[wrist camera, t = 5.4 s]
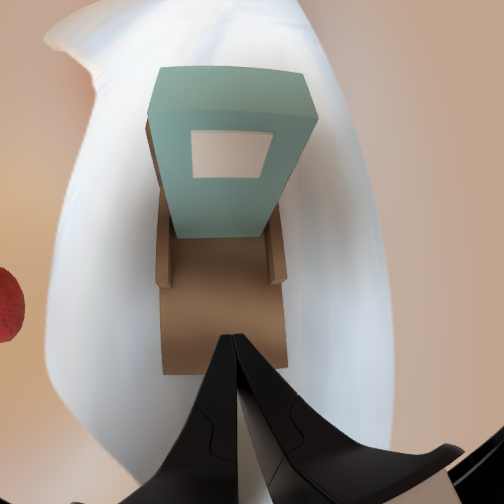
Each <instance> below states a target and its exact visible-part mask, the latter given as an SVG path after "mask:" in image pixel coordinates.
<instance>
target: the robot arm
mask: <svg viewBox="0 0 504 504" xmlns="http://www.w3.org/2000/svg"><path fill="white" fill-rule="evenodd" d="M237 393H238V396H239V400H240V403H241V407H242V410H243V414H244V417H245V420H246V424H247V427H248V430H249V433H250V437H251V440H252V443H253V446H254V449H255V452H256V455H257V459H258V462H259V465H260V468H261V471H262V473H263V476H264V479H265V482H266V485H267V487H268V491H269V494H270V496H271V499H272V502H273V504H504V426H503V427H502V428H501V429H499V430H498V431H497V432H496V433H495V434H494V435H493V436H492V437H490V438H489V439H488V440H487V441H486V442H485V443H483V444H482V445H481V446H480V447H478V448H477V449H476V450H475V451H474V452H472V453H471V454H470V455H468V456H467V457H466V458H464V459H463V460H462V461H461V462H459V463H458V464H457V465H455V466H454V467H453V468H451V469H450V470H449V471H446V470H445V467H446V466H447V465H449V464H450V463H452V462H453V461H454V460H456V459H457V458H458V457H460V456H461V455H462V454H463V453H464V452H465V451H464V450H463V449H461V448H459V447H458V446H455V445H451V444H447V443H445V444H443V445H441V446H439V447H438V448H436V449H435V450H433V451H431V452H429V453H426V454H421V455H413V454H404V453H399V452H392V451H387V450H382V449H377V448H372V447H368V446H365V445H362V444H360V443H358V442H356V441H354V440H353V439H351V438H350V437H348V436H347V435H346V434H344V433H343V432H341V431H340V430H339V429H337V428H336V427H335V426H333V425H332V424H331V423H329V422H328V421H327V420H326V419H324V418H323V417H322V416H321V415H319V414H318V413H317V412H316V411H315V410H314V409H313V408H312V407H310V406H309V405H308V404H307V403H306V402H305V401H304V400H303V399H302V397H301V396H300V395H297V392H296V391H295V390H294V389H293V388H292V387H291V386H290V385H289V384H288V383H287V382H286V381H285V379H284V378H283V377H282V376H281V375H280V374H279V373H278V372H277V371H276V370H275V369H274V367H273V366H272V365H271V364H270V363H269V362H268V361H267V360H266V358H265V357H264V356H263V355H262V354H261V353H260V352H259V351H258V349H257V348H256V347H255V346H254V345H253V344H252V343H251V341H250V340H249V339H248V338H247V337H246V336H245V335H244V334H243V333H238V334H233V335H231V334H222V335H220V336H219V339H218V341H217V344H216V347H215V349H214V352H213V354H212V357H211V360H210V362H209V365H208V367H207V370H206V372H205V375H204V378H203V380H202V383H201V385H200V388H199V391H198V393H197V396H196V398H195V401H194V404H193V406H192V408H191V411H190V414H189V416H188V418H187V421H186V423H185V425H184V427H183V429H182V431H181V433H180V435H179V437H178V438H177V440H176V442H175V443H174V445H173V447H172V449H171V450H170V452H169V454H168V455H167V457H166V459H165V460H164V462H163V463H162V465H161V467H160V468H159V469H158V471H157V472H156V473H155V474H154V476H153V477H152V478H151V479H149V480H148V481H147V482H146V483H145V484H143V485H142V486H141V487H140V488H138V489H137V490H136V491H134V492H133V493H132V494H131V495H129V496H128V497H127V498H125V499H124V500H123V501H121V502H120V503H118V504H239V502H238V464H237ZM0 504H12V503H10V502H8V501H6V500H4V499H2V498H0ZM71 504H83V503H79V502H72V503H71Z"/></svg>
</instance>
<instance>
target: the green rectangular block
mask: <svg viewBox="0 0 504 504" xmlns="http://www.w3.org/2000/svg"><path fill="white" fill-rule="evenodd" d="M147 115H148V120H149V125H150V130H151V135H152V140H153V144H154V149H155V153H156V158H157V162H158V167H159V171H160V175H161V179H162V183H163V187H164V191H165V195H166V199H167V203H168V207H169V211H170V214H171V218H172V222H173V225H174V229H175V232H176V236H177V239H187V238H234V237H260V236H261V234H262V232H263V230H264V228H265V226H266V224H267V222H268V220H269V218H270V216H271V214H272V212H273V210H274V208H275V206H276V204H277V202H278V199H279V197H280V195H281V193H282V191H283V189H284V187H285V185H286V183H287V181H288V179H289V177H290V175H291V173H292V171H293V169H294V167H295V165H296V163H297V161H298V159H299V157H300V155H301V153H302V151H303V149H304V147H305V145H306V143H307V141H308V139H309V137H310V135H311V133H312V131H313V129H314V127H315V125H316V123H317V121H318V119H319V118H318V115H317V112H316V109H315V106H314V104H313V101H312V98H311V95H310V92H309V90H308V87H307V84H306V81H305V79H304V76H303V74H300V73H294V72H287V71H280V70H271V69H262V68H250V67H233V66H179V67H163V68H160V70H159V73H158V76H157V80H156V83H155V86H154V90H153V93H152V97H151V101H150V104H149V108H148V112H147Z"/></svg>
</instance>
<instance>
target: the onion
mask: <svg viewBox="0 0 504 504" xmlns="http://www.w3.org/2000/svg"><path fill="white" fill-rule="evenodd" d="M24 314H25V302H24V295H23V293H22V290H21V288H20V285H19V284H18V282H17V280H16V279H15V277H14V276H13V275H12V274H11V273H10V272H9V271H7V270H6V269H4V268H1V267H0V343H3V342H7V341H11V340H12V339H13V338H14V337H15V336H16V335H17V333H18V332H19V330H20V329H21V327H22V323H23V320H24Z"/></svg>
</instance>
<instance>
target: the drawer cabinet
mask: <svg viewBox="0 0 504 504" xmlns="http://www.w3.org/2000/svg"><path fill="white" fill-rule="evenodd" d="M145 130H146V134H147V139H148V143H149V147H150V152H151V156H152V160H153V164H154V168H155V171H156V175H157V179H158V183H159V187H160V197H159V210H158V224H157V244H156V284H157V285H158V286H159V287H160V330H161V350H162V364H163V375H196V374H205V372H206V370H207V367H208V365H209V362H210V360H211V357H212V354H213V352H214V349H215V347H216V344H217V341H218V339H219V336H220V335H222V334H231V335H233V334H238V333H243V334H244V335H245V336H246V337H247V338H248V339H249V340H250V341H251V343H252V344H253V345H254V346H255V347H256V348H257V349H258V351H259V352H260V353H261V354H262V355H263V356H264V357H265V358H266V360H267V361H268V362H269V363H270V364H271V365H272V366H273V367H274V369H278V368H286V367H288V359H287V346H286V334H285V323H284V312H283V301H282V291H281V283H282V282H283V281H285V280H286V279H287V272H286V263H285V254H284V245H283V237H282V229H281V221H280V213H279V205H278V202H277V204H276V206H275V208H274V210H273V212H272V214H271V216H270V218H269V220H268V222H267V224H266V226H265V228H264V230H263V232H262V234H261V236H260V237H234V238H187V239H177V236H176V232H175V229H174V225H173V222H172V218H171V214H170V211H169V207H168V203H167V199H166V195H165V191H164V187H163V183H162V179H161V175H160V171H159V167H158V162H157V158H156V153H155V149H154V144H153V140H152V135H151V130H150V125H149V120H148V119H147V123H146V127H145Z"/></svg>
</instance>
